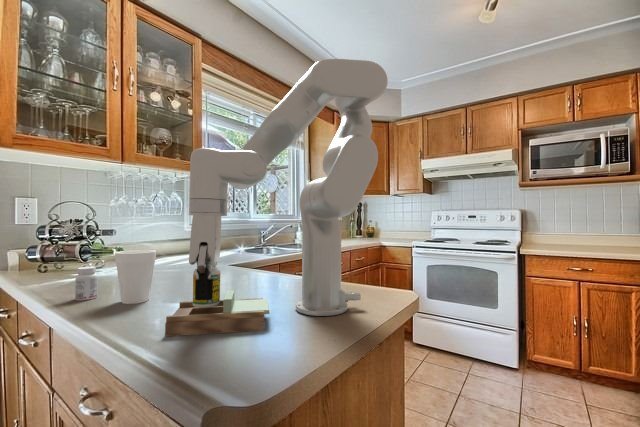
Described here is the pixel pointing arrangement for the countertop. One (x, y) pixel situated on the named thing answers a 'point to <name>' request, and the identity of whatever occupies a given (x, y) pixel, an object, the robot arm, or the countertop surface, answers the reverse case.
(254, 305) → the cover
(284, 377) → the countertop surface
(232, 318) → the wooden tray
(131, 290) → the foam cup
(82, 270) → the pill bottle
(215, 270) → the supplement bottle
